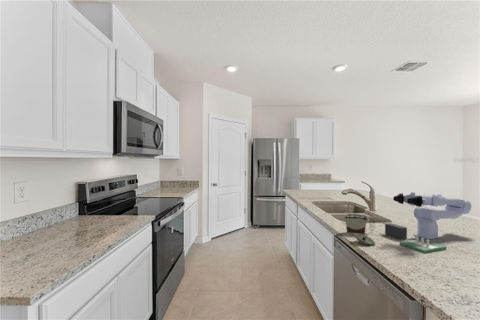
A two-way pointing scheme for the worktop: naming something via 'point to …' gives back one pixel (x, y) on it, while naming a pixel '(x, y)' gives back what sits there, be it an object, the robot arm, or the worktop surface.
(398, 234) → the plug housing
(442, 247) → the header board
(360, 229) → the food container
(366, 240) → the lid
